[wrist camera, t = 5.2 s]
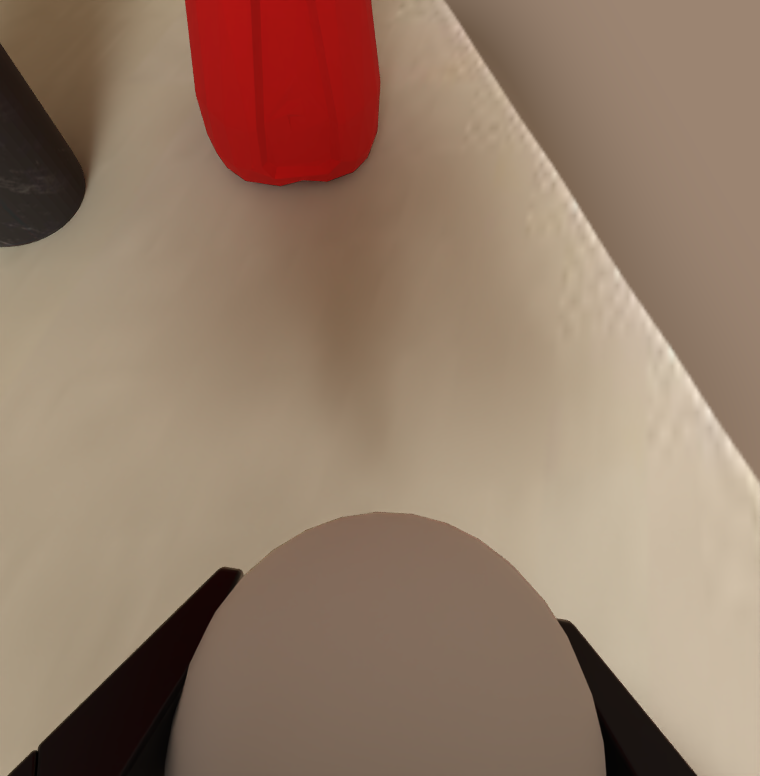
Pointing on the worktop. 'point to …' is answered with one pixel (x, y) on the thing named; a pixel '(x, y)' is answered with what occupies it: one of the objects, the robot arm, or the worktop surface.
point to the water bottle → (286, 85)
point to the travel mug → (32, 165)
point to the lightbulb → (384, 664)
